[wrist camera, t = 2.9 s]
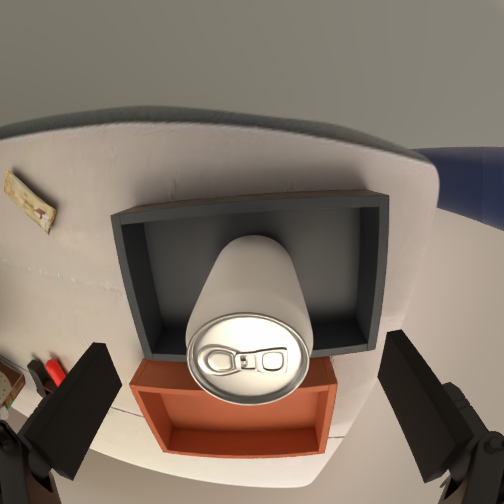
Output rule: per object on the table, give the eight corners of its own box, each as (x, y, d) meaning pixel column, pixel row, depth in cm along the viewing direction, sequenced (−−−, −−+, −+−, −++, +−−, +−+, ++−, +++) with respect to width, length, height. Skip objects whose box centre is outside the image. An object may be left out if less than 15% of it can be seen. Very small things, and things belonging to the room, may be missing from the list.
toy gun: (104, 417, 31) (92, 440, 27) (42, 386, 31) (28, 404, 26) (96, 375, 29) (80, 400, 24) (30, 341, 28) (11, 359, 23)
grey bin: (367, 189, 21) (389, 195, 17) (360, 324, 25) (375, 349, 21) (134, 206, 22) (110, 215, 18) (160, 334, 26) (145, 360, 22)
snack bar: (3, 193, 21) (2, 172, 20) (11, 188, 23) (12, 167, 21) (48, 237, 22) (49, 215, 21) (57, 229, 24) (59, 208, 22)
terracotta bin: (328, 355, 26) (337, 383, 22) (320, 427, 30) (324, 453, 26) (142, 359, 27) (128, 384, 23) (170, 428, 31) (163, 452, 27)
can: (212, 234, 23) (164, 304, 11) (293, 231, 22) (325, 300, 11) (219, 306, 24) (190, 408, 13) (293, 304, 24) (313, 408, 13)
